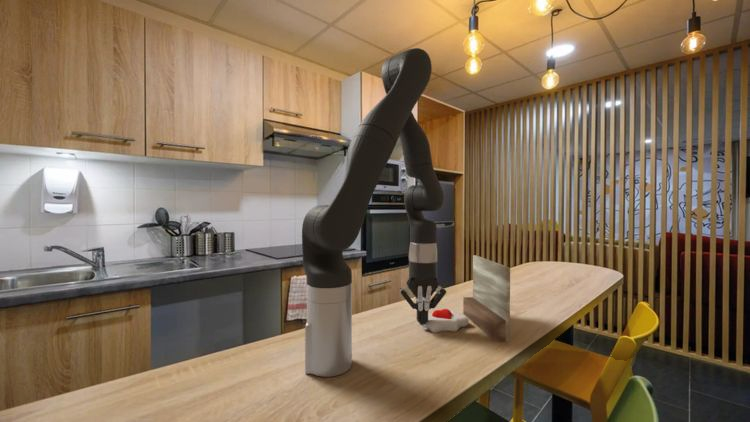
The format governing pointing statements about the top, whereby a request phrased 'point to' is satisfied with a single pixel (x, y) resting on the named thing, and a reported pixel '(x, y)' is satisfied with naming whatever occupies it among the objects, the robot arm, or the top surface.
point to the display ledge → (490, 299)
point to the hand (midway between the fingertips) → (422, 323)
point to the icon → (445, 321)
